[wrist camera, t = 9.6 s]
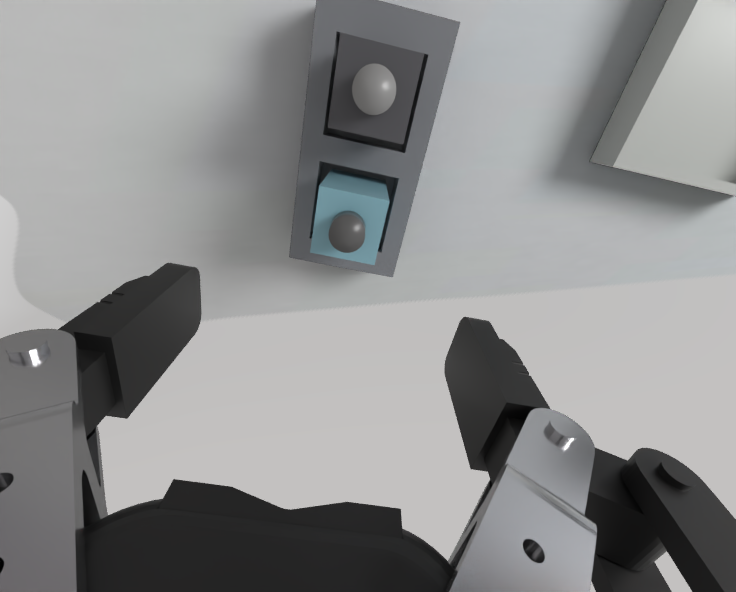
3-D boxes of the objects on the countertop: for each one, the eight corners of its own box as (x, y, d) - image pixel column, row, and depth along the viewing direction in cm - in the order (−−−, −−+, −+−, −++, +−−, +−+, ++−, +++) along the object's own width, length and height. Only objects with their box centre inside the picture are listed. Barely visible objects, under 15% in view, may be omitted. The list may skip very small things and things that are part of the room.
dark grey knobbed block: (348, 55, 22) (337, 24, 14) (409, 70, 22) (429, 48, 15) (338, 124, 24) (324, 128, 16) (394, 137, 24) (405, 146, 17)
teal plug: (332, 168, 25) (315, 190, 18) (384, 180, 25) (391, 207, 18) (323, 221, 27) (305, 261, 19) (373, 231, 27) (374, 275, 20)
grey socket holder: (325, 3, 21) (318, -16, 18) (447, 35, 22) (460, 22, 19) (298, 242, 29) (289, 257, 26) (390, 260, 29) (392, 277, 26)
